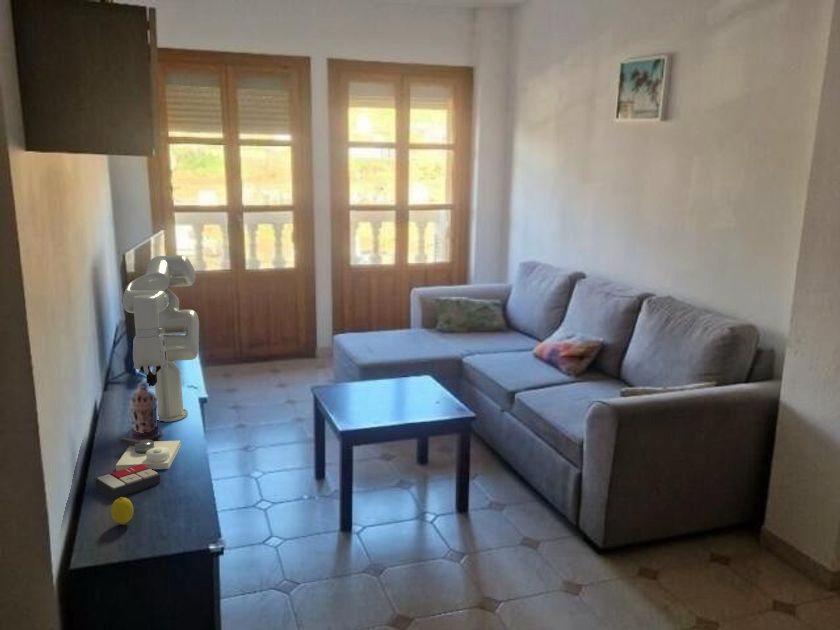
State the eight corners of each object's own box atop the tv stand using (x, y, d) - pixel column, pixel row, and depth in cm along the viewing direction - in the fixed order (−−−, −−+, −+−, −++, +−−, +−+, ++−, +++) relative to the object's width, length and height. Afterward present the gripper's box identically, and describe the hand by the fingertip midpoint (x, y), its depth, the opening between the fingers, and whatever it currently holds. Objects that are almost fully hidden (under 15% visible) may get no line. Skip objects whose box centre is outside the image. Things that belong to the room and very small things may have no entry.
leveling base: (132, 447, 236) (131, 435, 235) (180, 445, 238) (180, 433, 237) (116, 471, 219) (114, 457, 218) (168, 468, 220) (167, 455, 219)
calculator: (160, 472, 211) (112, 487, 199) (161, 485, 212) (113, 501, 200) (142, 462, 218) (94, 476, 206) (142, 474, 218) (95, 489, 207)
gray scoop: (115, 448, 231) (114, 441, 230) (129, 441, 236) (128, 434, 236) (144, 454, 226) (144, 447, 225) (158, 448, 231) (157, 441, 230)
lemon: (108, 529, 185) (105, 502, 183) (118, 518, 190) (115, 492, 188) (128, 530, 184) (126, 502, 183) (138, 519, 190) (135, 492, 188)
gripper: (173, 328, 233) (177, 380, 237) (127, 329, 232) (132, 382, 236) (168, 334, 226) (172, 387, 230) (120, 335, 224) (126, 389, 228)
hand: (152, 384), depth 233 cm, fingers closed
